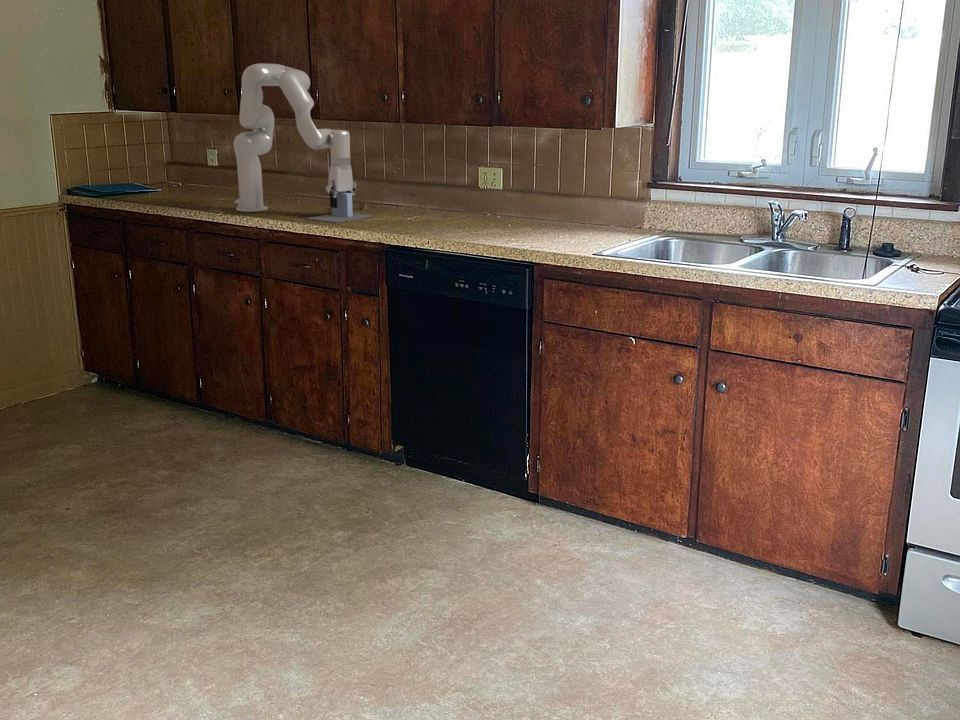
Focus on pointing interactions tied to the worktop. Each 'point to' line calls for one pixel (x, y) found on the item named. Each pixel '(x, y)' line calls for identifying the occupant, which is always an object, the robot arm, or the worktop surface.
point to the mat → (339, 218)
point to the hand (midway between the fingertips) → (341, 206)
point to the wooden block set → (361, 204)
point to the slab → (343, 205)
